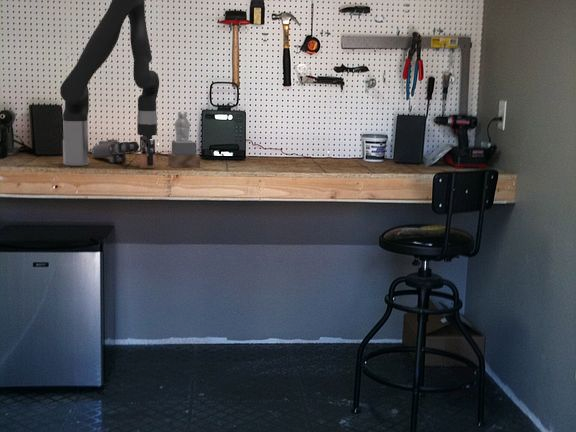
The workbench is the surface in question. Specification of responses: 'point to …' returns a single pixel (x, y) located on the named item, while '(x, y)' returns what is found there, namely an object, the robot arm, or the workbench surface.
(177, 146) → the grey square block
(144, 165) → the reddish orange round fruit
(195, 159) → the tower base
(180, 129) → the grey figurine
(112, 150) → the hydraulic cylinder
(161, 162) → the workbench surface
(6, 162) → the workbench surface
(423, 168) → the workbench surface
